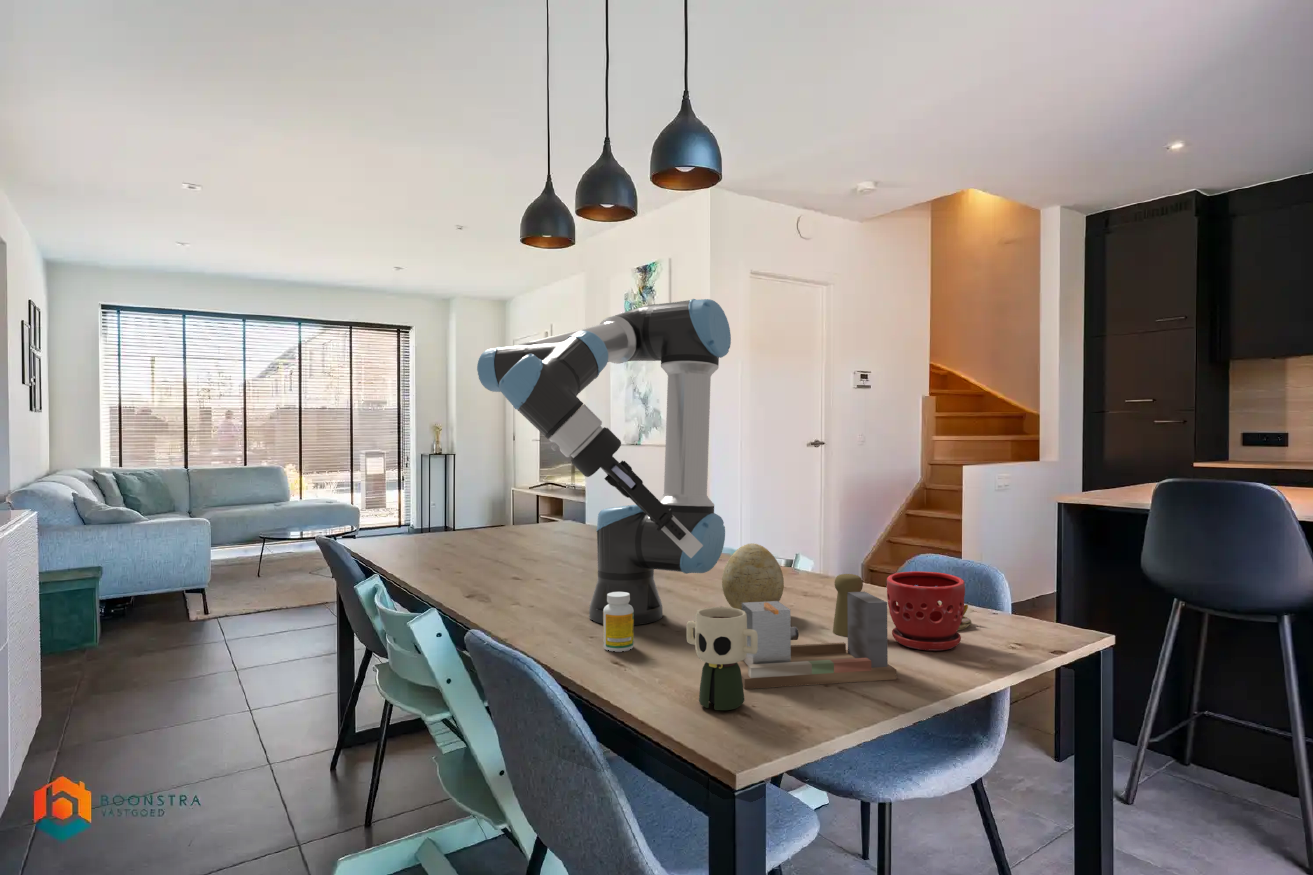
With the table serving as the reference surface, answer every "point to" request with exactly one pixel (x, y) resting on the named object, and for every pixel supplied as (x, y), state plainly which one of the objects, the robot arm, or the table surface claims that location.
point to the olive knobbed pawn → (844, 601)
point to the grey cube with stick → (770, 632)
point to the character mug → (721, 654)
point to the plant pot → (926, 609)
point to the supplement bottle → (618, 623)
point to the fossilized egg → (752, 576)
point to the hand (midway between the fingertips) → (696, 551)
